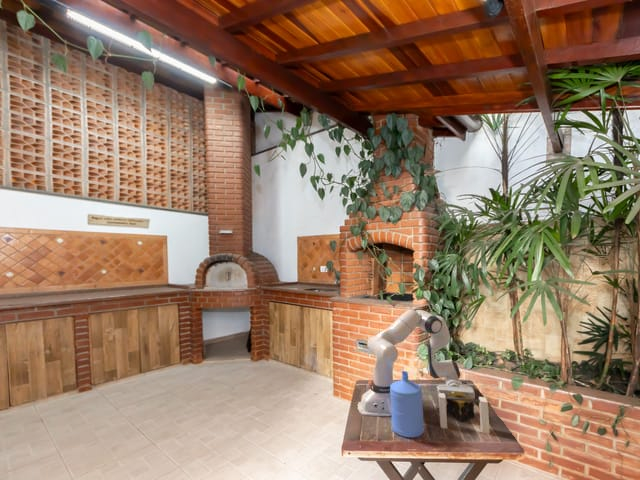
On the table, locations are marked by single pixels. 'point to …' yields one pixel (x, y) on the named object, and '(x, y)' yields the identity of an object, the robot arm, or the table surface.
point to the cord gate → (482, 400)
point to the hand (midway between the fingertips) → (457, 397)
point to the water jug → (406, 407)
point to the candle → (460, 407)
